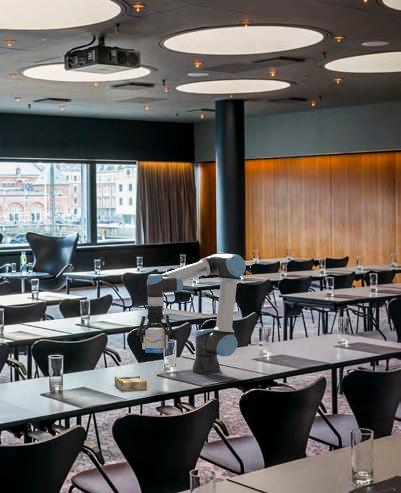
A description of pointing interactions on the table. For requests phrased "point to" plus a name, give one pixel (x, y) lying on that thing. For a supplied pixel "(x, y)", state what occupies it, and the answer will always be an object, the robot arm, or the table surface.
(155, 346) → the ink box
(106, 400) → the table surface
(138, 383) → the dock
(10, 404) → the table surface
